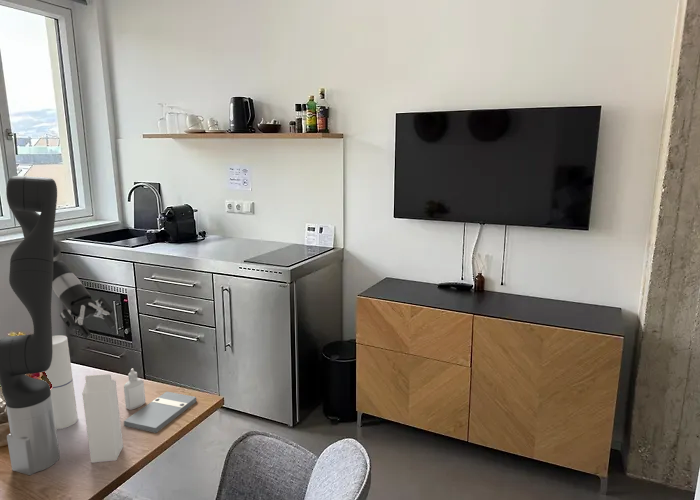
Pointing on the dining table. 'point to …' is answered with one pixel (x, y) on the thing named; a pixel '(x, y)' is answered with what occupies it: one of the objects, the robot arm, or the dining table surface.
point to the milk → (102, 418)
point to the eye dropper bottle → (134, 391)
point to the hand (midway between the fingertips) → (101, 331)
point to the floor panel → (160, 412)
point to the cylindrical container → (62, 384)
